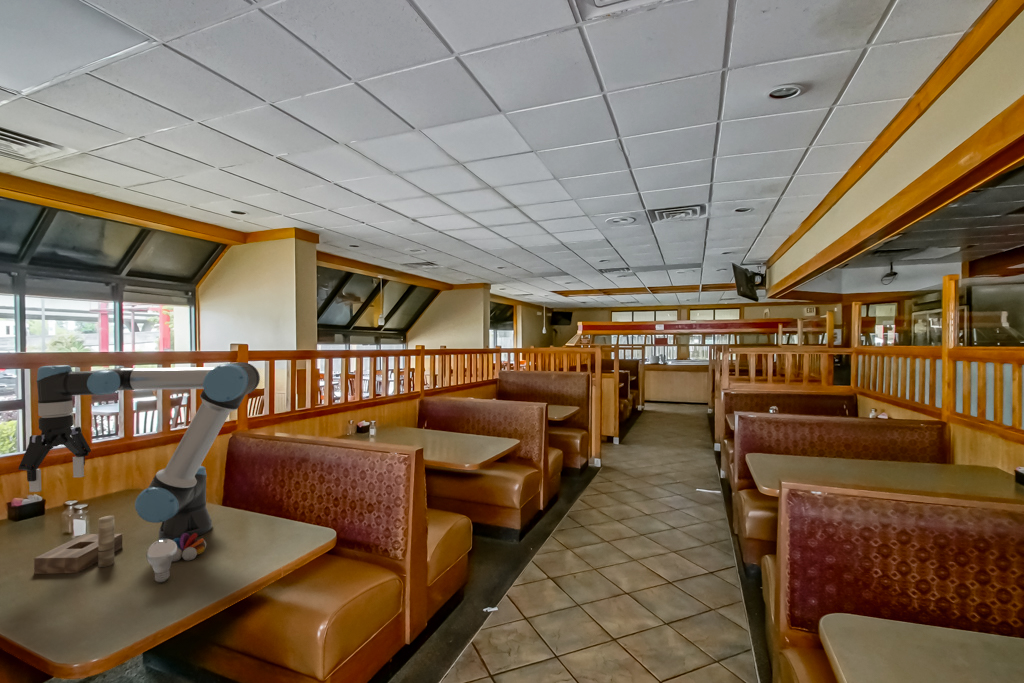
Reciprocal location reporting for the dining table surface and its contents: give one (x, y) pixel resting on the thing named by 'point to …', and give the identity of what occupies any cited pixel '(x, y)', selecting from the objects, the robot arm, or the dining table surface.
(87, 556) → the board
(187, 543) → the rainbow fan toy
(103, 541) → the dowel
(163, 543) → the light bulb
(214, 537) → the dining table surface
